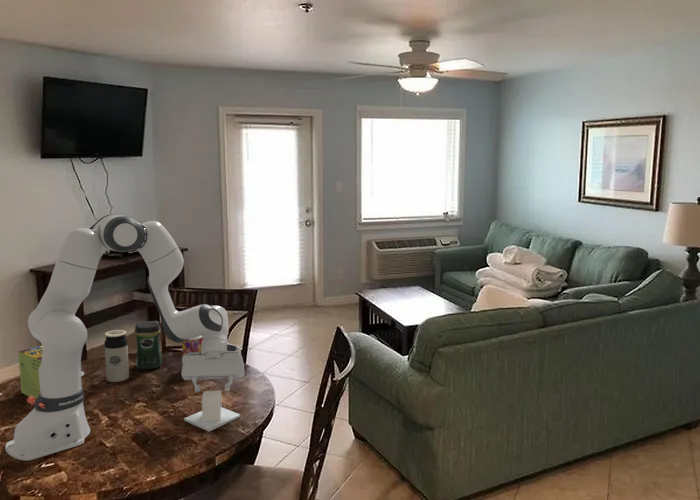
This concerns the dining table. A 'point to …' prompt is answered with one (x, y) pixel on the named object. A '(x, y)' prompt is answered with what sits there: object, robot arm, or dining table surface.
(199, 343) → the smoothie
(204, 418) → the cream rectangular block
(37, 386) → the protein box
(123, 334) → the travel mug
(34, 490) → the dining table surface
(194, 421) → the stud board
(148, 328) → the coffee jar
